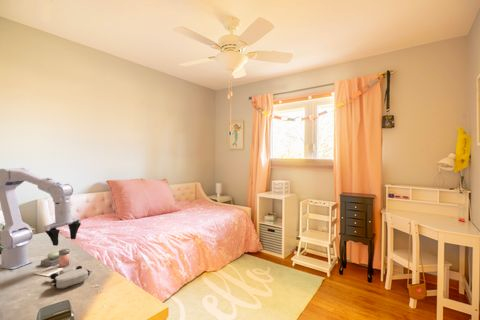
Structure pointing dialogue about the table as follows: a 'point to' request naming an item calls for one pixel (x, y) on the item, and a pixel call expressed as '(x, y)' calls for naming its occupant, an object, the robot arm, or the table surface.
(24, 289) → the table surface
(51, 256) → the button
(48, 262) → the button housing
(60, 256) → the marker
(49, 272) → the cream rectangular plate
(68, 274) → the robot toy
